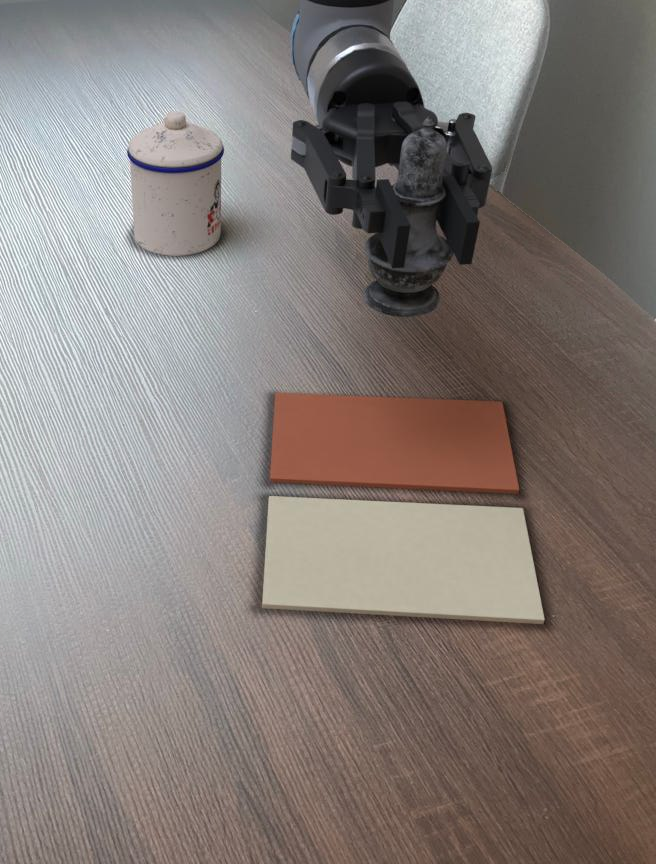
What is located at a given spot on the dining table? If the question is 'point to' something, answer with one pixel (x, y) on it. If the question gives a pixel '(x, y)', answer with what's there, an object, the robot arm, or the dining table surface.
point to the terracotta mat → (392, 443)
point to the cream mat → (400, 560)
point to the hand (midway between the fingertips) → (435, 245)
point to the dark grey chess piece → (413, 232)
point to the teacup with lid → (176, 187)
